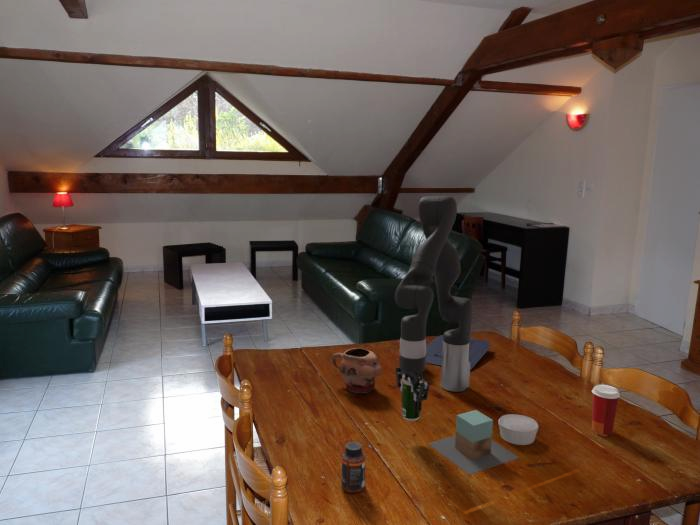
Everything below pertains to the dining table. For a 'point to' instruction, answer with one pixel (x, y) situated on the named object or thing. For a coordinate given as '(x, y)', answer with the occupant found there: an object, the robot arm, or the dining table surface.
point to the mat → (476, 464)
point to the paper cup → (604, 408)
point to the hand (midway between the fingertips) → (411, 407)
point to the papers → (475, 351)
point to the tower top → (474, 426)
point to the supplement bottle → (353, 468)
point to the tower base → (473, 446)
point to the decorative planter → (358, 369)
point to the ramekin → (518, 429)
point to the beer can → (408, 401)
